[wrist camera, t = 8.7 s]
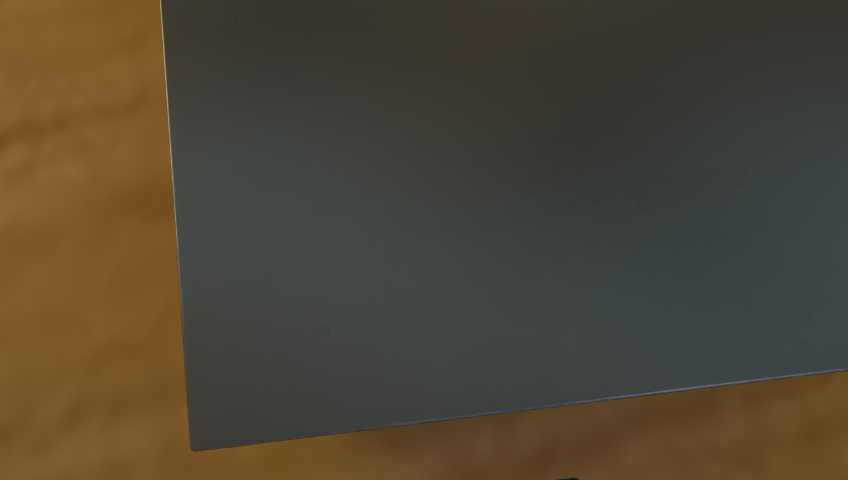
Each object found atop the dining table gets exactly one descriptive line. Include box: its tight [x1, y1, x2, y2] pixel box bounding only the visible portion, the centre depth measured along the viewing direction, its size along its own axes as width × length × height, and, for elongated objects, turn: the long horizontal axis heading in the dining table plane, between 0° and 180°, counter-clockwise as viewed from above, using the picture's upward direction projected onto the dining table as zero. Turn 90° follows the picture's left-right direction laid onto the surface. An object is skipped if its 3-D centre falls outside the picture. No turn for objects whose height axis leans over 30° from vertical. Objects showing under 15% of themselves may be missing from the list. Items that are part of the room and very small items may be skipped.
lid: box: [160, 0, 848, 452], centre depth 15 cm, size 14×12×1 cm
